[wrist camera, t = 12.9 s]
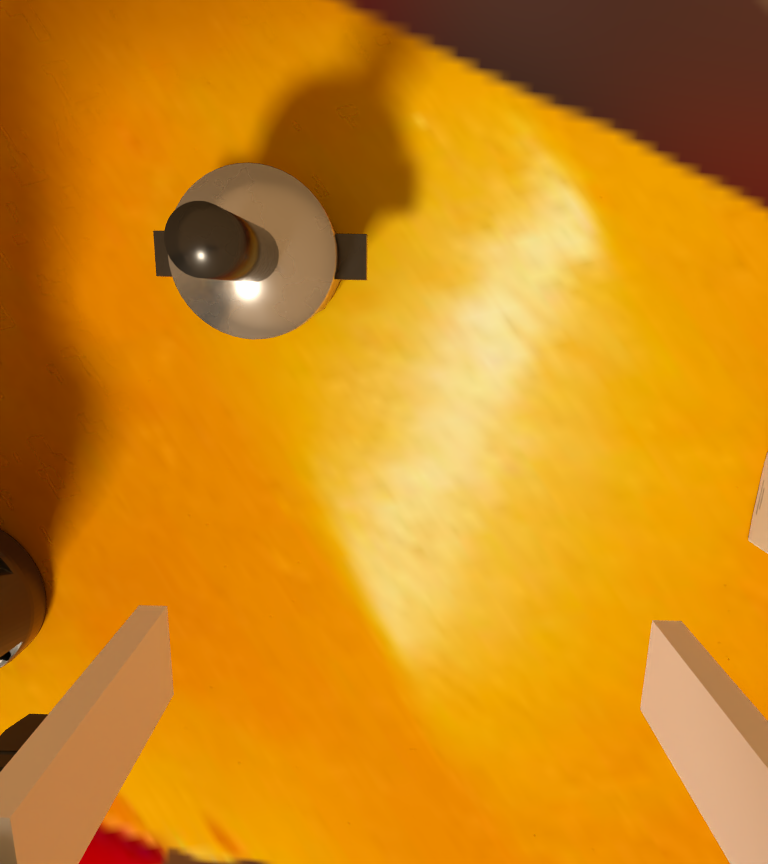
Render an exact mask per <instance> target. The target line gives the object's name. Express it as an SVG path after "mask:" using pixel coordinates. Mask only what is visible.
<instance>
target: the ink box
mask: <svg viewBox="0 0 768 864" xmlns="http://www.w3.org/2000/svg"><path fill="white" fill-rule="evenodd" d="M748 540H749V541H750V542H751V543H753V544H754V545H756V546H757V547H759V548H760V549H762V550H763V551H765V552H766V553H768V452H767V456H766V459H765V463H764V467H763V471H762V476H761V480H760V485H759V490H758V494H757V499H756V503H755V508H754V512H753V517H752V521H751V527H750V532H749V539H748Z"/></svg>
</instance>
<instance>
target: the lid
mask: <svg viewBox="0 0 768 864" xmlns="http://www.w3.org/2000/svg"><path fill="white" fill-rule="evenodd" d="M164 242H165V247H166V251H167V253H168V260H169V266H170V270H171V274H172V277H173V279H174V282H175V285H176V287H177V289H178V291H179V292H180V294H181V296H182V298H183V299H184V300H185V302H186V303H187V305H188V306H189V307H190V308H191V309H192V310H193V312H194V313H195V314H196V315H197V316H199V317H200V318H201V319H202V320H203V321H204V322H206V323H207V324H209V325H210V326H212V327H213V328H215V329H217V330H219V331H221V332H223V333H226V334H229V335H232V336H235V337H240V338H246V339H266V338H271V337H276V336H279V335H282V334H285V333H288V332H290V331H292V330H294V329H297V328H298V327H300V326H301V325H303V324H304V323H306V322H307V321H308V320H309V319H310V318H312V317H313V316H314V315H315V314H316V313H317V311H318V310H319V309H320V308H321V307H322V305H323V303H324V302H325V300H326V299H327V297H328V295H329V293H330V291H331V288H332V285H333V282H334V279H335V275H336V270H337V258H338V256H337V243H336V238H335V233H334V230H333V227H332V224H331V222H330V220H329V217H328V215H327V213H326V211H325V210H324V208H323V207H322V205H321V203H320V202H319V201H318V200H317V198H316V197H315V196H314V195H313V194H312V192H311V191H310V190H309V189H308V188H307V187H305V186H304V185H303V184H302V183H301V182H300V181H298V180H297V179H296V178H294V177H293V176H291V175H289V174H288V173H286V172H284V171H282V170H279V169H277V168H274V167H271V166H267V165H263V164H256V163H237V164H232V165H227V166H224V167H221V168H218V169H216V170H214V171H212V172H210V173H208V174H206V175H205V176H203V177H202V178H201V179H199V180H198V181H197V182H195V183H194V184H193V185H192V186H191V187H190V188H189V189H188V191H187V192H186V193H185V195H184V196H183V197H182V199H181V200H180V202H179V204H178V206H177V207H176V210H175V211H174V212H173V213H172V214H171V216H170V217H169V219H168V221H167V223H166V227H165V232H164Z"/></svg>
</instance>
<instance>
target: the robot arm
mask: <svg viewBox="0 0 768 864" xmlns="http://www.w3.org/2000/svg"><path fill="white" fill-rule="evenodd" d="M45 610H46V594H45V588H44V584H43V581H42V578H41V575H40V573H39V571H38V569H37V567H36V565H35V563H34V561H33V560H32V558H31V557H30V556H29V554H28V553H27V552H26V551H25V549H24V548H23V547H22V546H21V545H20V544H19V543H18V542H17V541H16V540H14V539H13V538H12V537H11V536H9V535H8V534H7V533H5V532H4V531H2V530H1V529H0V668H1V667H3V666H4V665H6V664H7V663H9V662H10V661H12V660H13V659H14V658H15V657H16V656H17V655H18V654H19V653H20V652H22V651H23V650H24V649H25V648H26V647H27V646H28V645H29V644H30V643H31V642H32V641H33V639H34V638H35V637H36V635H37V634H38V632H39V630H40V628H41V626H42V623H43V620H44V616H45ZM173 694H174V693H173V680H172V666H171V653H170V639H169V626H168V612H167V606H141V605H139V606H138V608H137V609H136V610H135V611H134V612H133V614H132V615H131V616H130V617H129V618H128V620H127V621H126V622H125V623H124V624H123V626H122V627H121V628H120V629H119V630H118V632H117V633H116V634H115V635H114V636H113V638H112V639H111V640H110V641H109V642H108V644H107V645H106V646H105V647H104V648H103V650H102V651H101V652H100V653H99V654H98V656H97V657H96V658H95V659H94V660H93V662H92V663H91V664H90V665H89V666H88V668H87V669H86V670H85V671H84V672H83V674H82V675H81V676H80V677H79V678H78V680H77V681H76V682H75V683H74V684H73V686H72V687H71V688H70V689H69V690H68V692H67V693H66V694H65V695H64V696H63V698H62V699H61V700H60V701H59V702H58V704H57V705H56V706H55V707H54V708H53V710H52V711H51V712H50V713H49V714H29V715H27V716H26V717H24V718H23V719H21V720H20V721H18V722H17V723H15V724H14V725H12V726H11V727H9V728H8V729H7V730H5V731H4V732H3V733H2V734H1V736H0V864H78V863H79V862H80V860H81V858H82V856H83V854H84V853H85V851H86V849H87V847H88V846H89V844H90V842H91V840H92V838H93V837H94V835H95V833H96V831H97V830H98V828H99V826H100V824H101V822H102V821H103V819H104V817H105V815H106V814H107V812H108V810H109V808H110V806H111V805H112V803H113V801H114V799H115V798H116V796H117V794H118V792H119V790H120V789H121V787H122V785H123V783H124V782H125V780H126V778H127V776H128V774H129V773H130V771H131V769H132V767H133V766H134V764H135V762H136V760H137V758H138V757H139V755H140V753H141V751H142V750H143V748H144V746H145V744H146V742H147V741H148V739H149V737H150V735H151V734H152V732H153V730H154V728H155V726H156V725H157V723H158V721H159V719H160V718H161V716H162V714H163V712H164V710H165V709H166V707H167V705H168V703H169V702H170V700H171V698H172V696H173ZM640 710H641V711H642V713H643V715H644V716H645V718H646V720H647V722H648V723H649V725H650V727H651V728H652V730H653V732H654V734H655V735H656V737H657V739H658V740H659V742H660V744H661V746H662V747H663V749H664V751H665V752H666V754H667V756H668V758H669V759H670V761H671V763H672V765H673V766H674V768H675V770H676V771H677V773H678V775H679V777H680V778H681V780H682V782H683V783H684V785H685V787H686V789H687V790H688V792H689V794H690V795H691V797H692V799H693V801H694V802H695V804H696V806H697V807H698V809H699V811H700V813H701V814H702V816H703V818H704V819H705V821H706V823H707V825H708V826H709V828H710V830H711V831H712V833H713V835H714V837H715V838H716V840H717V842H718V843H719V845H720V847H721V849H722V850H723V852H724V854H725V855H726V857H727V859H728V861H729V862H730V864H768V721H767V720H766V719H765V717H764V716H763V715H762V714H761V713H760V712H759V711H758V709H757V708H756V707H755V706H754V705H753V704H752V702H751V701H750V700H749V699H748V698H747V697H746V696H745V694H744V693H743V692H742V691H741V690H740V689H739V687H738V686H737V685H736V684H735V683H734V682H733V680H732V679H731V678H730V677H729V676H728V675H727V674H726V672H725V671H724V670H723V669H722V668H721V667H720V665H719V664H718V663H717V662H716V661H715V660H714V659H713V657H712V656H711V655H710V654H709V653H708V652H707V650H706V649H705V648H704V647H703V646H702V645H701V643H700V642H699V641H698V640H697V639H696V638H695V637H694V635H693V634H692V633H691V632H690V631H689V630H688V628H687V627H686V626H685V625H684V624H683V623H682V621H657V620H652V627H651V635H650V642H649V649H648V656H647V664H646V671H645V678H644V686H643V693H642V700H641V708H640Z"/></svg>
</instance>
